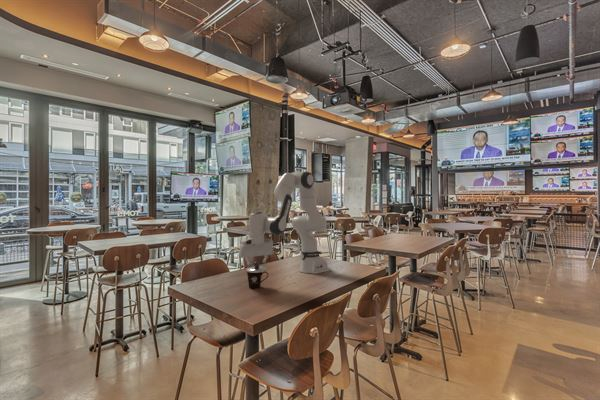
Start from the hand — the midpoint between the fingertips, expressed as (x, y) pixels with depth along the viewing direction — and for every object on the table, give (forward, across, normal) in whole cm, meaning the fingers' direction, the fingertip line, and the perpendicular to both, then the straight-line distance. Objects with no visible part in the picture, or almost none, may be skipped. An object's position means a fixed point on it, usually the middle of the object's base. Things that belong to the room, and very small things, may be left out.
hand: (256, 263), depth 174 cm
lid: (+4, 0, 0) cm, 4 cm away
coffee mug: (+14, 0, 0) cm, 14 cm away
